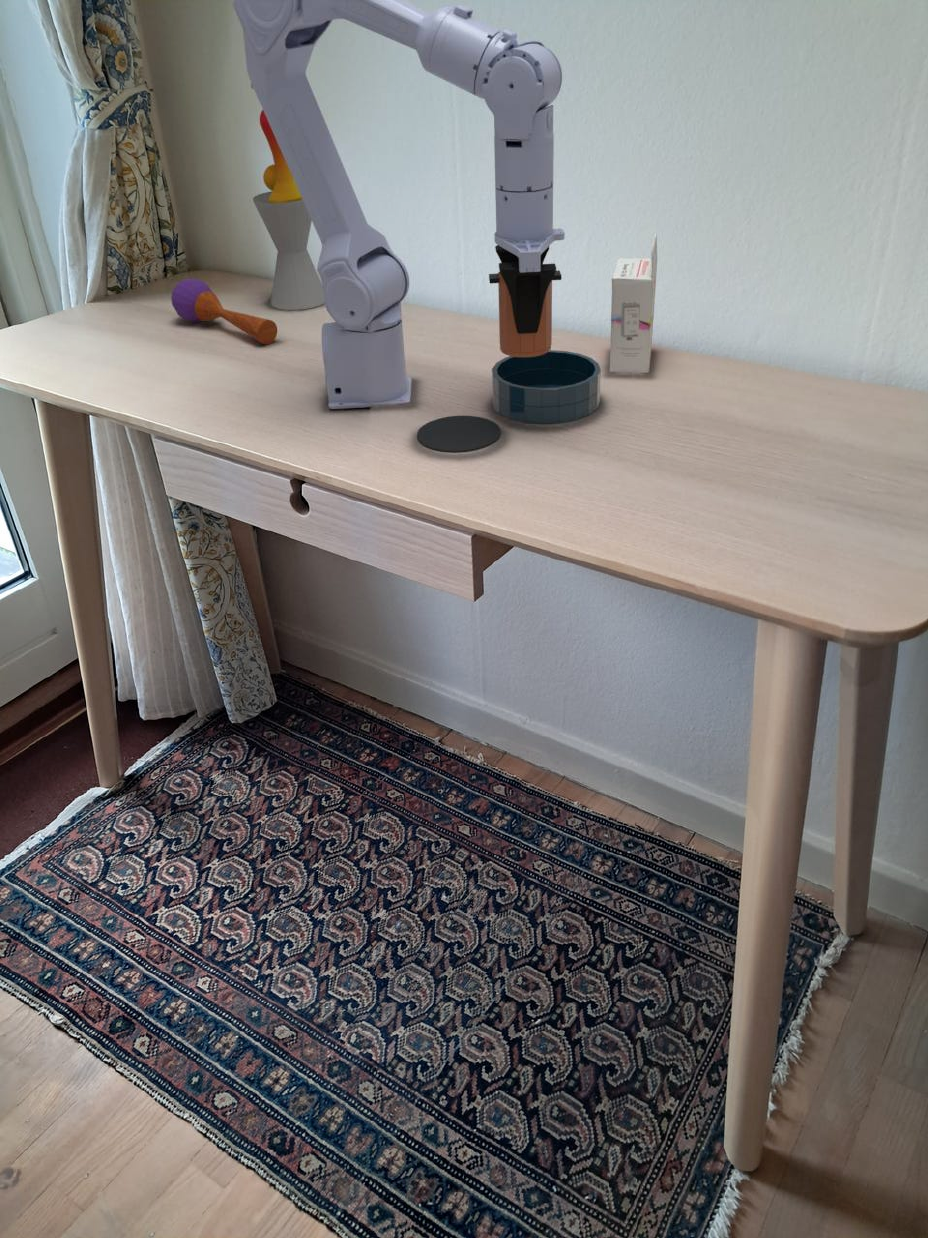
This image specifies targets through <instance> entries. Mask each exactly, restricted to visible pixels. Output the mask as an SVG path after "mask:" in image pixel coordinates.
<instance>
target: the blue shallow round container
mask: <svg viewBox="0 0 928 1238" xmlns="http://www.w3.org/2000/svg"><path fill="white" fill-rule="evenodd" d="M601 374H602V369H601V366H600V363H598V362H597V361H596V360H594V359H593V358H592V357H590V356H588V355H585V354H582V353H577V352H572V351H568V350H556V349H555V350H552V349H550V351H549V352H547V353H545V354H543V355H540V356H535V357H513V356H509V355H508V356H506V357H504V358H502V359H500V360H498V361H497V362H496V363H495V364H494V365H493V367H492V368H491V390H492V391H491V393H492V394H491V395H492V396H491V397H492V407H493V409H494V411H495V412H496V413H497V414H499V415H500V416H502V417H504V418H506V419H509V420H511V421H514V422H519V423H523V424H531V425H558V424H559V425H560V424H565V423H571V422H574V421H578V420H581V419H585V418H586V417H589V416H590V415H592V414H593V413H594V412H595V411H597V409H598V408H599V405H600V402H601V376H602V375H601Z"/></svg>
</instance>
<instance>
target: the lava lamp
mask: <svg viewBox="0 0 928 1238" xmlns="http://www.w3.org/2000/svg"><path fill="white" fill-rule="evenodd" d="M250 88H251V89H252V90H254V88H253V86H252V83H251V82H250ZM259 125H260V128H261V130H262V132H263V134H264V137H265V139H266V141H267V144H268V146H269V149H270V151H271V154H272V159H273V164H271V165H269V166H267V167H266V168H265V169H264V172H263V176H262V177H263V178H262V179H263V183H264V185H265V187H266V188H267V189H268V190H270V191H266V192H263V193H262V192H261V193H259V194H257V195H255V196H253V198H252V201H253V203H254V205H255V208H256V210H257V212H258V213H259V216H260V218H261V220H262V222H263V224H264V226H265V229H266V230H267V232H268V234H269V236H270V238H271V240H272V243H273V244H274V246H275V249H276V251H277V252H276V253H277V254H276V260H275V269H274V274H273V283H272V288H271V289H272V290H271V297H270V305H271V307H272V308H274V309H277V310H282V311H301V310H308V309H312V308H315V307H316V308H317V307H319V306H321V305H325V303H324V298H323V284H322V281H321V278H320V276H319V273H318V271H317V268H316V267H315V265H314V262H313V259H312V258H311V256H310V253H309V251H308V249H307V247H308V243H309V238H310V234H311V233H310V231H311V226H312V223H313V222H312V220H311V218H310V215H309V213H308V211H307V209H306V206H305V204H304V202H303V199H302V197H301V195H300V193H299V190H298V188H297V186H296V183H295V181H294V179H293V177H292V174H291V172H290V170H289V168H288V165H287V163H286V161H285V158H284V156H283V154H282V152H281V149H280V147H279V145H278V142H277V140H276V138H275V136H274V133H273V131H272V129H271V127H270V124H269V122H268V120H267V117H266V115H265V113H264V111H263V109H261V111H260V114H259Z"/></svg>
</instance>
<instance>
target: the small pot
mask: <svg viewBox="0 0 928 1238" xmlns="http://www.w3.org/2000/svg"><path fill="white" fill-rule="evenodd" d="M488 281H489V284H491V285H492V284H498V285H497V286H498V288H497V291H498V323H499V324H498V326H499V327H498V329H499V350H500V353H502V354H503V355H506V356H508V357H509V356H513V357H535V356H540V355H543V354H545V353H547V352H549V351H550V350H552V345H553V343H552V342H553V341H552V340H553V339H552V338H553V337H552V335H553V334H552V332H553V329H552V327H553V326H552V324H553V323H552V322H553V281H562V273H561V271H560V270H559V269H558V270H556V272H555V275H554V277H553V279H552V280H551V282H550V284H549V287H548V289H547V292H546V295H545V299H544V304H543V309H542V314H541V320H540V324H539V328H538V331H537V333H524V334H518V332H517V329H516V326H515V321H514V316H513V309H512V303H511V298H510V294H509V291H508V288H507V286H506V283H505V281H504V279H503V278H502V275H501V273H500V271H498V272H497V273H488Z"/></svg>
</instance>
